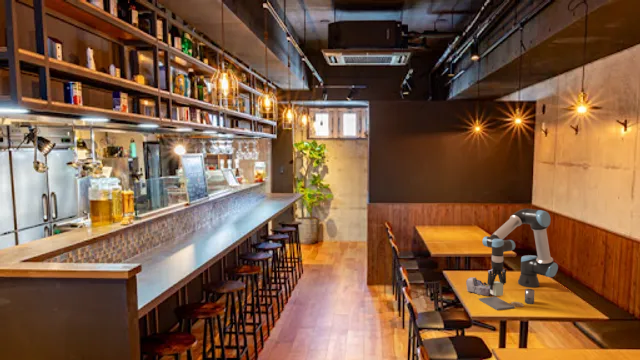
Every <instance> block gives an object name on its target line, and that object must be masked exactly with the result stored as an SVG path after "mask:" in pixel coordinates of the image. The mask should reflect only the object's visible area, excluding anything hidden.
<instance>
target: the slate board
mask: <svg viewBox="0 0 640 360" xmlns="http://www.w3.org/2000/svg"><path fill="white" fill-rule="evenodd" d="M478 300H479V301H480V302H481V303H483V304H484V305H486V306H489V307H490V308H492V309H494V310H496V311H503V310H504V311H505V310H511V309H516V306H513V305H511V303H508V302H507V301H505V300H503V299H501V298H500V297H498V296H489V297H488V296H487V297H481V298H480V297H479V298H478Z"/></svg>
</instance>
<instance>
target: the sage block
mask: <svg viewBox="0 0 640 360" xmlns="http://www.w3.org/2000/svg"><path fill="white" fill-rule="evenodd" d="M493 285H494V295H493V296H494V297H498V296H503V295H504V285H503V283H500V281H499V280H497V281H494V284H493ZM490 293H491V289H490Z"/></svg>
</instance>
